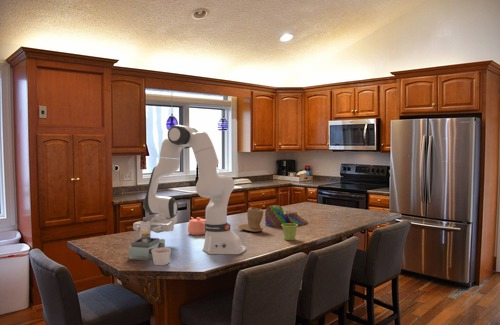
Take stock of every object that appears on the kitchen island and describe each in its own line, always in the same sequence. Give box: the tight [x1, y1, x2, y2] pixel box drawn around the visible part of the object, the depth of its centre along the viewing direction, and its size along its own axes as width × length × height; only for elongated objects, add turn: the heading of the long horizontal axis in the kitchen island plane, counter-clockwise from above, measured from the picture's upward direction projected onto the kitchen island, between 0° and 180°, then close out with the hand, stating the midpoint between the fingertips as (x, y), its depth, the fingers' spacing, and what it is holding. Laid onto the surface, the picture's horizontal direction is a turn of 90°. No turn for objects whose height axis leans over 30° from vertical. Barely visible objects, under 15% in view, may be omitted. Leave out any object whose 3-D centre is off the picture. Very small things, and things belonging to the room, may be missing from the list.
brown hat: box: [237, 207, 264, 233], centre depth 255 cm, size 15×12×15 cm
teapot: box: [187, 216, 206, 237], centre depth 247 cm, size 12×18×10 cm, turn 34°
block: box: [264, 204, 309, 229], centre depth 274 cm, size 25×17×14 cm
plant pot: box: [281, 223, 299, 242], centre depth 230 cm, size 9×9×9 cm
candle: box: [151, 247, 172, 266], centre depth 184 cm, size 9×9×6 cm
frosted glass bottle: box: [139, 216, 152, 243], centre depth 197 cm, size 5×5×13 cm
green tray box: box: [128, 237, 166, 261], centre depth 199 cm, size 11×18×8 cm, turn 166°
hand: (145, 229), depth 197 cm, fingers open, 8 cm apart
